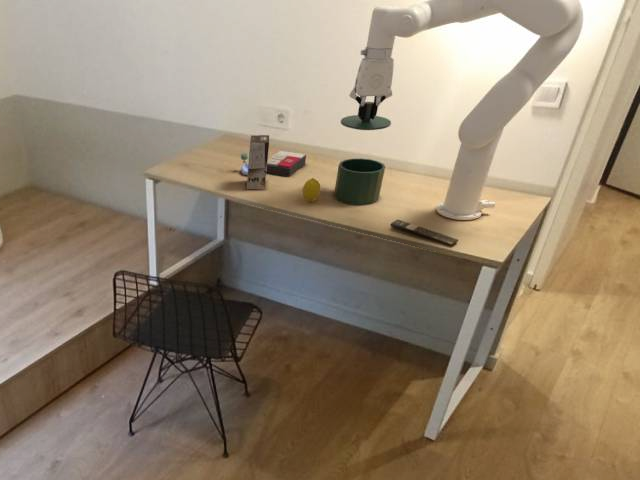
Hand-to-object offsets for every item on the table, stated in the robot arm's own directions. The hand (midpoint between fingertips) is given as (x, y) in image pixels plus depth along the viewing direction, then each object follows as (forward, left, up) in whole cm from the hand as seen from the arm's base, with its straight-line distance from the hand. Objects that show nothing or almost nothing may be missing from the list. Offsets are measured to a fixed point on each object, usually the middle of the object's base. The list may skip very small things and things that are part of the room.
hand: (366, 117), depth 195 cm
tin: (0, +4, -24) cm, 25 cm away
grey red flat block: (+20, -26, -24) cm, 41 cm away
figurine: (+33, -22, -24) cm, 47 cm away
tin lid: (0, 0, -2) cm, 2 cm away
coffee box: (+32, -9, -24) cm, 41 cm away
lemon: (+16, +8, -24) cm, 30 cm away
